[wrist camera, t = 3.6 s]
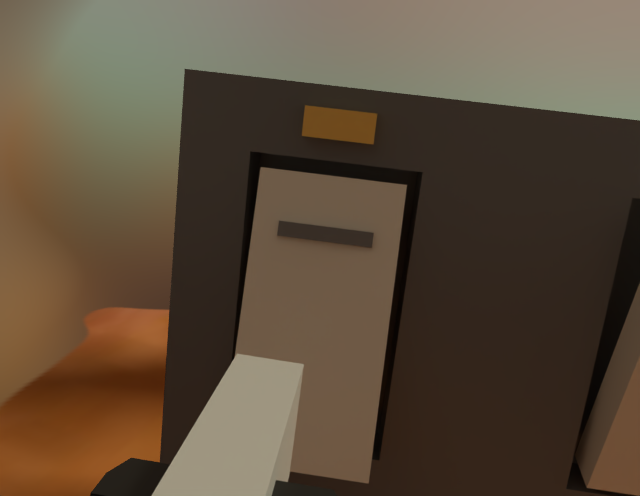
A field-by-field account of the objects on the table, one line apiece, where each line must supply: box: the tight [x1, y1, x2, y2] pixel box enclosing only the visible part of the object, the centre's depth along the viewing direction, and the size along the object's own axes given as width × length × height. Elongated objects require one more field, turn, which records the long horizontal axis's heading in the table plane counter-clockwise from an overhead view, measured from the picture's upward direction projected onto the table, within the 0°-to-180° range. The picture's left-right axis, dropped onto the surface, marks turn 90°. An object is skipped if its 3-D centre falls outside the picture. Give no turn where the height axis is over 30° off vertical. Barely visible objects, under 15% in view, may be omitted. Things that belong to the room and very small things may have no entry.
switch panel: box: [160, 69, 640, 496], centre depth 29 cm, size 16×24×20 cm, turn 85°
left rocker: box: [235, 167, 407, 484], centre depth 21 cm, size 2×5×10 cm, turn 84°
